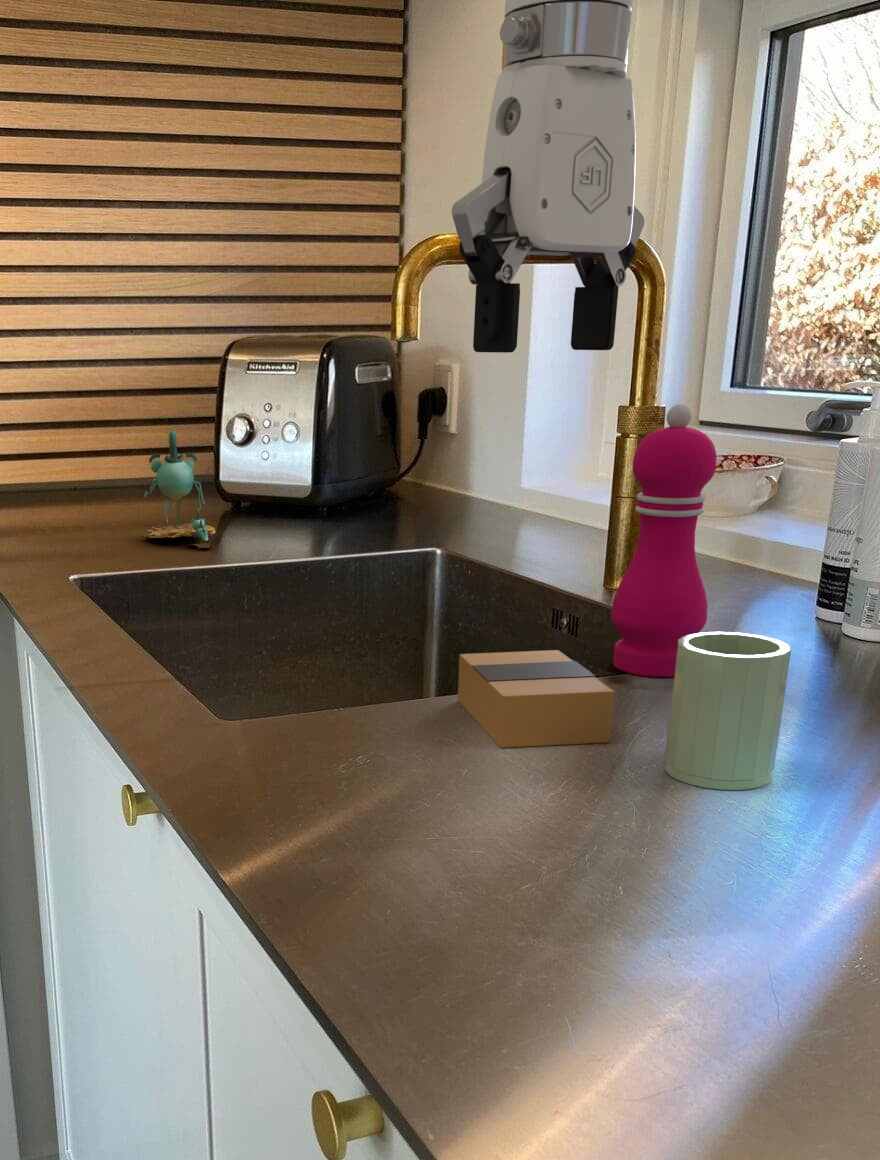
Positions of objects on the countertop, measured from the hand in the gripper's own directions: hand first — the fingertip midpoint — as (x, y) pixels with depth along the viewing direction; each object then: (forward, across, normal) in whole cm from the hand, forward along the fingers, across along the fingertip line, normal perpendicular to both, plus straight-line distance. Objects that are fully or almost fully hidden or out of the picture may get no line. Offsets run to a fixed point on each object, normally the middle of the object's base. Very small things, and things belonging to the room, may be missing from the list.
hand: (544, 350), depth 80 cm
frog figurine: (+24, +22, +77) cm, 84 cm away
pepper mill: (+24, +15, -1) cm, 28 cm away
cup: (+24, -3, -18) cm, 30 cm away
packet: (+24, -3, -4) cm, 24 cm away
